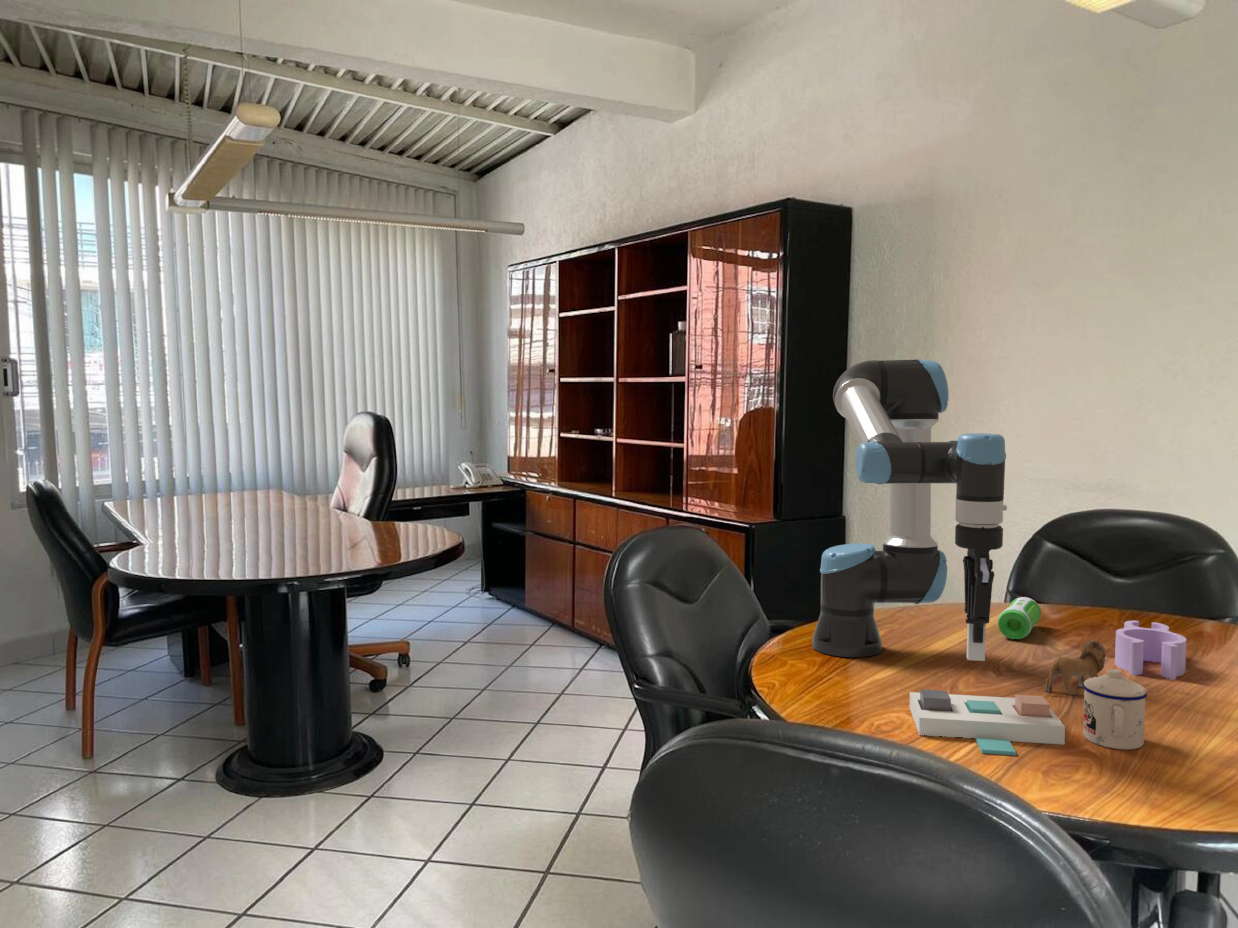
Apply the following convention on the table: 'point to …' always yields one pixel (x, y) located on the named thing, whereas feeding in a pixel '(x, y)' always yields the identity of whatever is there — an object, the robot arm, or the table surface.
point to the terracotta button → (1032, 706)
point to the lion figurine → (1078, 666)
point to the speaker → (1019, 618)
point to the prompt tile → (995, 746)
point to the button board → (986, 721)
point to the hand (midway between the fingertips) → (975, 658)
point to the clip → (1150, 649)
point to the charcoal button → (935, 700)
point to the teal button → (982, 707)
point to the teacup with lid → (1114, 711)
